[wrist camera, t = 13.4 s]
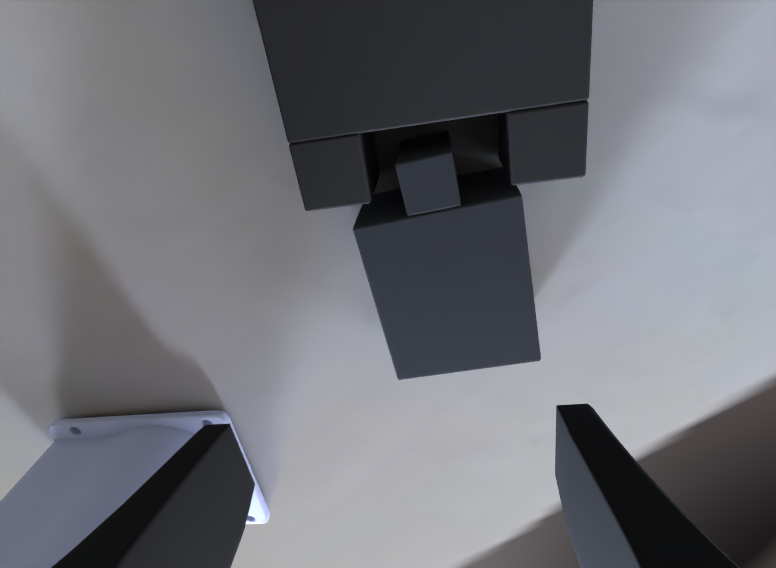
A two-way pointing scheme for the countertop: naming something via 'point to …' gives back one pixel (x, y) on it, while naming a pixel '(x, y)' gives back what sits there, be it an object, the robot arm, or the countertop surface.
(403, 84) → the black pad
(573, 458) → the robot arm
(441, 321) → the graphite pad
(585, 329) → the countertop surface
